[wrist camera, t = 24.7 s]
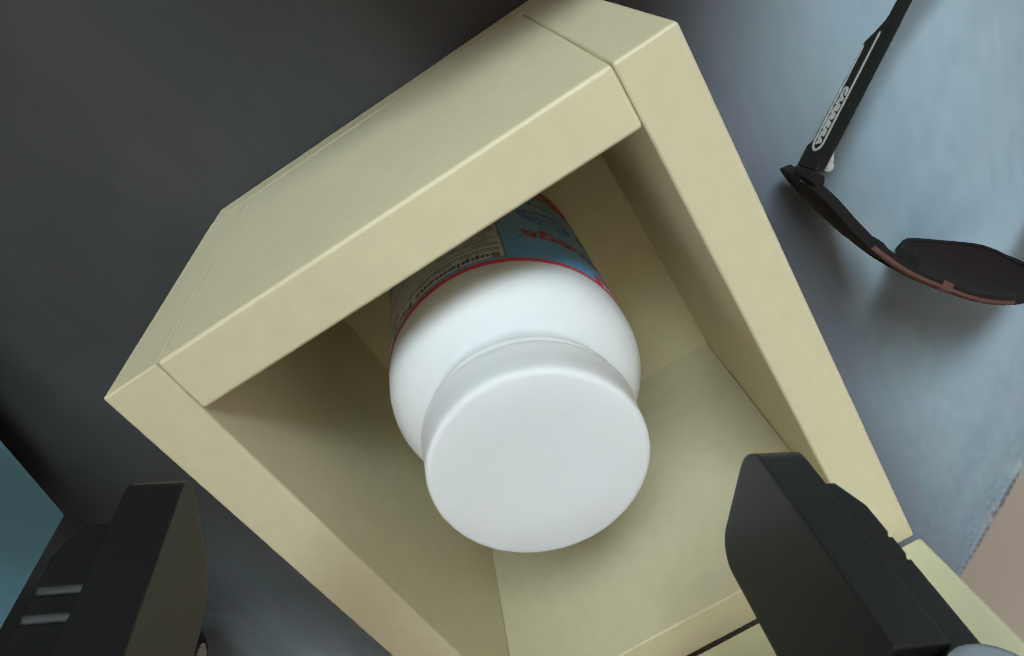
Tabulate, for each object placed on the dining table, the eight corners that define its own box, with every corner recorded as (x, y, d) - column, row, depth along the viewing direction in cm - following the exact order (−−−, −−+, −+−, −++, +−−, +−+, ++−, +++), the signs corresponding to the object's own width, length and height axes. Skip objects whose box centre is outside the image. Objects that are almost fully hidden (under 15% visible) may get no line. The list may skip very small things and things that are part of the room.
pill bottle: (602, 281, 26) (734, 491, 16) (453, 370, 27) (492, 623, 17) (513, 131, 23) (606, 276, 13) (350, 236, 24) (324, 445, 14)
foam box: (219, 210, 24) (102, 399, 14) (551, -17, 23) (677, 20, 13) (466, 492, 31) (502, 754, 21) (737, 333, 29) (914, 535, 19)
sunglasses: (731, 208, 27) (809, 241, 22) (893, -152, 24) (1024, -201, 19) (953, 293, 30) (1063, 337, 25) (1123, -16, 27) (1283, -29, 22)
